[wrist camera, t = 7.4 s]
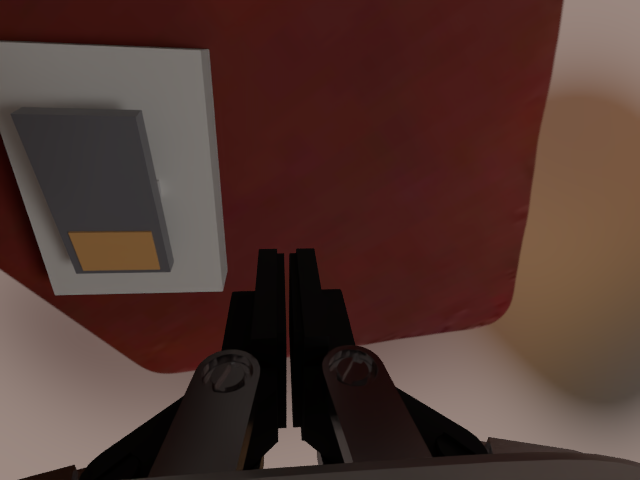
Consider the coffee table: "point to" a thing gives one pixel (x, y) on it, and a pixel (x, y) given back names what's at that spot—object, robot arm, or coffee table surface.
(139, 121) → the rocker switch
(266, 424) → the robot arm
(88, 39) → the coffee table surface
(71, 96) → the switch box
